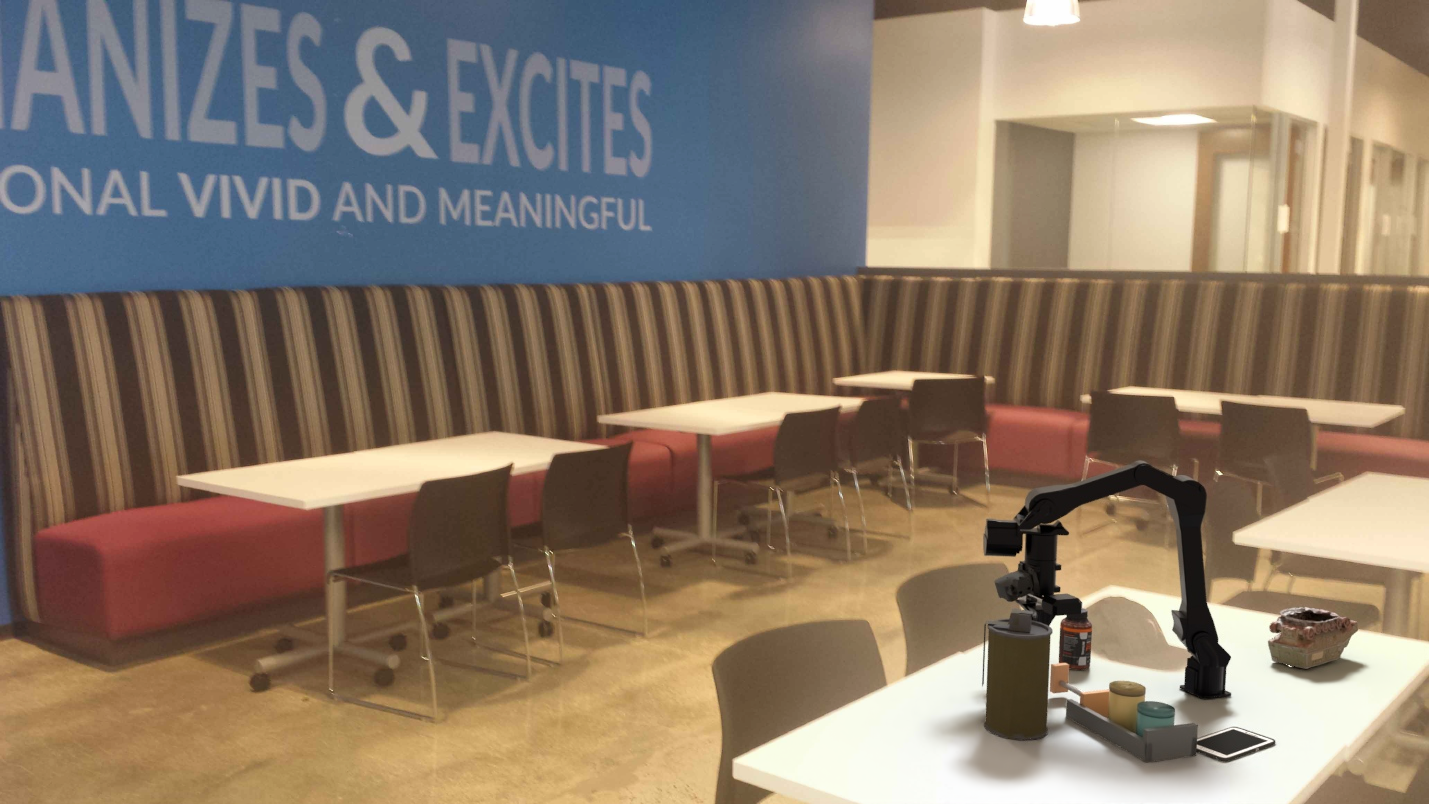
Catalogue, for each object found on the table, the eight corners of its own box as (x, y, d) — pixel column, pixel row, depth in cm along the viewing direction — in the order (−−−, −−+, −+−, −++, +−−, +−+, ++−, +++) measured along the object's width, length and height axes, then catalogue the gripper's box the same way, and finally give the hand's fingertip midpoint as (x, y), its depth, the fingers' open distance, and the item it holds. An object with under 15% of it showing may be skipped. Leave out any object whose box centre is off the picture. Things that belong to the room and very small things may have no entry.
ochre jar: (1128, 725, 205) (1130, 679, 204) (1150, 737, 200) (1153, 690, 199) (1099, 729, 203) (1102, 682, 203) (1121, 741, 198) (1123, 693, 197)
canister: (1050, 722, 206) (1055, 606, 204) (1045, 744, 196) (1051, 622, 194) (984, 714, 209) (989, 600, 208) (977, 735, 200) (982, 615, 198)
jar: (1156, 741, 198) (1159, 699, 197) (1180, 754, 193) (1183, 711, 192) (1127, 745, 196) (1129, 703, 196) (1150, 758, 191) (1153, 715, 190)
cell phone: (1180, 749, 196) (1181, 743, 196) (1234, 731, 204) (1234, 725, 204) (1224, 765, 190) (1224, 759, 190) (1277, 745, 198) (1278, 740, 198)
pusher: (1073, 692, 221) (1074, 661, 220) (1117, 716, 209) (1119, 683, 208) (1040, 696, 218) (1041, 665, 218) (1082, 720, 206) (1084, 687, 206)
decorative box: (1243, 655, 246) (1246, 608, 245) (1309, 643, 255) (1312, 598, 254) (1301, 674, 234) (1304, 625, 233) (1368, 661, 243) (1371, 613, 243)
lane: (1112, 711, 212) (1113, 683, 211) (1196, 755, 192) (1197, 724, 192) (1065, 716, 209) (1067, 688, 208) (1146, 762, 189) (1147, 731, 189)
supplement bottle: (1091, 672, 233) (1094, 614, 232) (1059, 669, 235) (1062, 612, 234) (1088, 662, 239) (1091, 606, 238) (1057, 660, 240) (1059, 604, 239)
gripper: (975, 549, 230) (972, 630, 231) (1031, 571, 212) (1028, 659, 214) (1026, 546, 233) (1023, 625, 235) (1085, 567, 216) (1082, 653, 217)
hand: (1037, 640), depth 225 cm, fingers closed
